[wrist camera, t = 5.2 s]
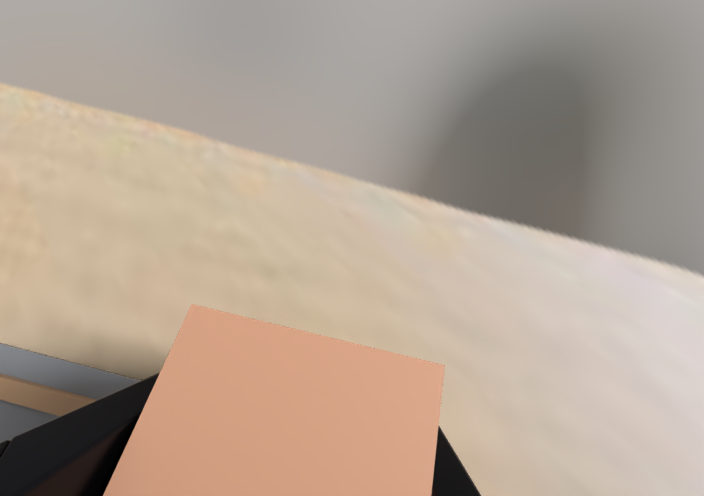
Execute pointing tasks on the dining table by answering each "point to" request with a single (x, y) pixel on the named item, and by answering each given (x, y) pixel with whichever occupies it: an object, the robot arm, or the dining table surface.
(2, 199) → the dining table surface
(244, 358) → the pillar block
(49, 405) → the base board
